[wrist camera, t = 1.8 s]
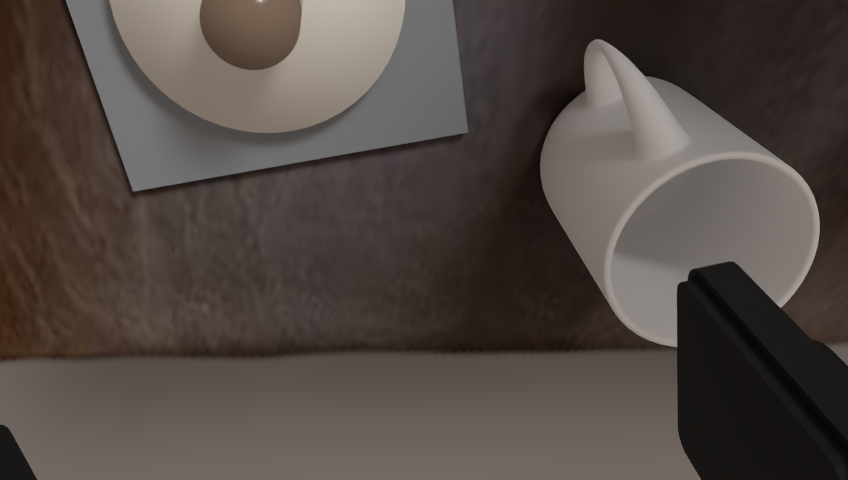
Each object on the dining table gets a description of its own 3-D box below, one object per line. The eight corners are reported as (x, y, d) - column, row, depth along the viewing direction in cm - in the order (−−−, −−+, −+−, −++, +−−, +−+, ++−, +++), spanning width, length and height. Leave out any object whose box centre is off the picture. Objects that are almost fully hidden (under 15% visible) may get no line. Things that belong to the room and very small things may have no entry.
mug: (656, -29, 35) (779, 25, 26) (718, 186, 41) (838, 294, 32) (483, 55, 36) (541, 136, 27) (568, 255, 42) (640, 379, 33)
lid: (69, -144, 30) (14, -137, 25) (377, -195, 30) (389, -198, 25) (163, 144, 36) (135, 202, 30) (421, 99, 36) (439, 147, 31)
